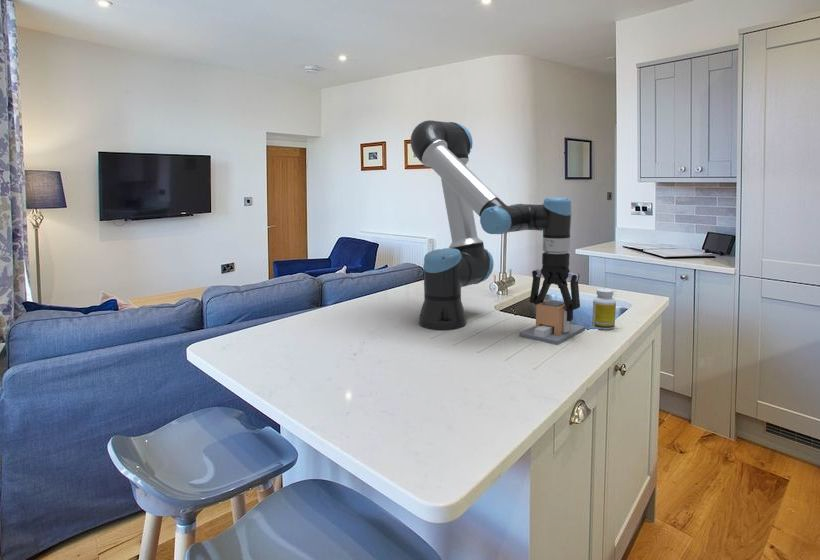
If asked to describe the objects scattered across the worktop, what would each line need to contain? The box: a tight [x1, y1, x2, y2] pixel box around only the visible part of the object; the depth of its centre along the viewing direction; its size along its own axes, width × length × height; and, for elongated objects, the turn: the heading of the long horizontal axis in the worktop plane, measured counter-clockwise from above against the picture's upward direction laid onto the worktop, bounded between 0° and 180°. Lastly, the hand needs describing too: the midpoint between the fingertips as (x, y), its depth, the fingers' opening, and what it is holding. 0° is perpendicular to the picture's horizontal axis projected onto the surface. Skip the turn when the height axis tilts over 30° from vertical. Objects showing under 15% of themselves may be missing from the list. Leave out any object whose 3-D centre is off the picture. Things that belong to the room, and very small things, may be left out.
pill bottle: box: [591, 288, 617, 331], centre depth 152 cm, size 6×6×12 cm
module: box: [535, 299, 572, 335], centre depth 147 cm, size 7×8×8 cm
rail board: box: [518, 323, 586, 346], centre depth 148 cm, size 12×18×3 cm, turn 138°
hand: (553, 329), depth 148 cm, fingers open, 7 cm apart
